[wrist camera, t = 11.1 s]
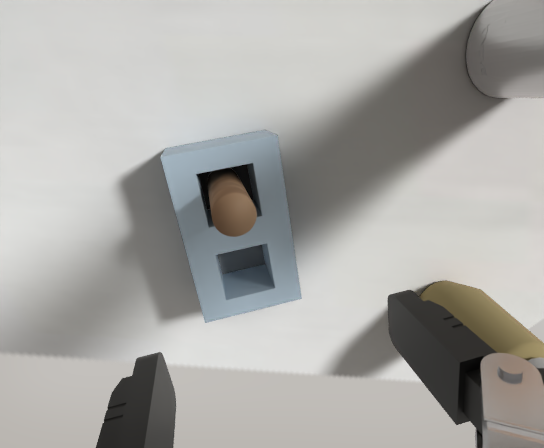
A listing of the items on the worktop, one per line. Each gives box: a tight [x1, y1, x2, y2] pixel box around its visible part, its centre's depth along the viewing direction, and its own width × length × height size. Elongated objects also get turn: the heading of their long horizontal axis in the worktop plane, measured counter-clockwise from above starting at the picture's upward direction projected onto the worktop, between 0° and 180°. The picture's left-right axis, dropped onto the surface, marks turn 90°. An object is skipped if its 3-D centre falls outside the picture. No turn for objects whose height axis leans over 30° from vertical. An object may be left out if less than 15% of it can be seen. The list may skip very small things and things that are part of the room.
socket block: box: [160, 130, 302, 323], centre depth 32 cm, size 9×15×5 cm, turn 9°
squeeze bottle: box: [420, 281, 544, 368], centre depth 35 cm, size 8×8×18 cm
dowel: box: [207, 168, 257, 237], centre depth 28 cm, size 3×3×10 cm
